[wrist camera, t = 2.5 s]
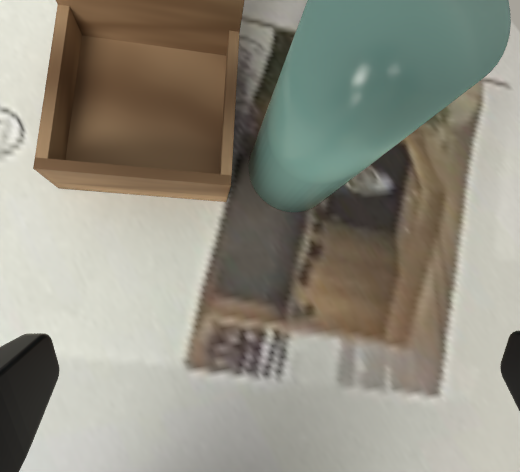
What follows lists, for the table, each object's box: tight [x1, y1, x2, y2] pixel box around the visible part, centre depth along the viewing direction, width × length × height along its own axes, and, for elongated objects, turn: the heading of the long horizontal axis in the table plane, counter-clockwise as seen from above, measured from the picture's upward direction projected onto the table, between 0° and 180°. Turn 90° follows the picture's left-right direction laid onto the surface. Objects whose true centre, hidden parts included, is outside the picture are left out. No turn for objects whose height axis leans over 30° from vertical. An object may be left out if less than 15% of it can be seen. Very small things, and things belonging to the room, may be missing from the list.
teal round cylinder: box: [248, 0, 511, 212], centre depth 15 cm, size 5×5×12 cm
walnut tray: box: [33, 0, 244, 202], centre depth 18 cm, size 8×8×5 cm
